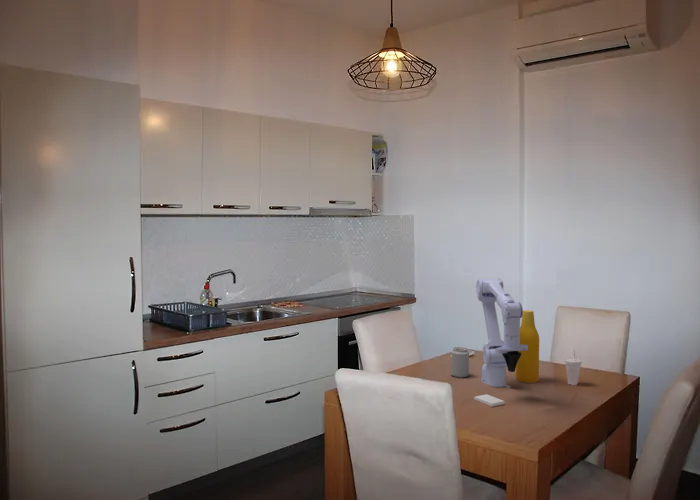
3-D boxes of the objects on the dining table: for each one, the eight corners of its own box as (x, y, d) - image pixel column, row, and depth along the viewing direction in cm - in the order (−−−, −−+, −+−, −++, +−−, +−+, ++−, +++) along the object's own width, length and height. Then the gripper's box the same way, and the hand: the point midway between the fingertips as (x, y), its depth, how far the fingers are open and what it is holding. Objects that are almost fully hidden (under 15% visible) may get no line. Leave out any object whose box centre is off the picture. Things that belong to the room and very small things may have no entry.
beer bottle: (529, 376, 246) (530, 308, 244) (543, 382, 237) (544, 312, 235) (511, 378, 242) (511, 310, 241) (524, 384, 234) (525, 313, 232)
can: (456, 372, 252) (456, 345, 251) (472, 375, 247) (472, 347, 246) (447, 376, 246) (448, 348, 245) (463, 379, 241) (463, 351, 241)
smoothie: (570, 386, 230) (571, 352, 229) (561, 382, 236) (561, 348, 236) (584, 385, 232) (585, 351, 231) (574, 381, 238) (575, 347, 237)
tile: (486, 399, 213) (474, 401, 210) (486, 394, 213) (474, 396, 210) (504, 405, 205) (491, 408, 202) (504, 400, 205) (491, 403, 202)
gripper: (505, 338, 207) (504, 376, 207) (534, 335, 214) (533, 371, 214) (491, 335, 213) (490, 371, 213) (519, 331, 220) (519, 367, 220)
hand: (511, 371), depth 214 cm, fingers closed
